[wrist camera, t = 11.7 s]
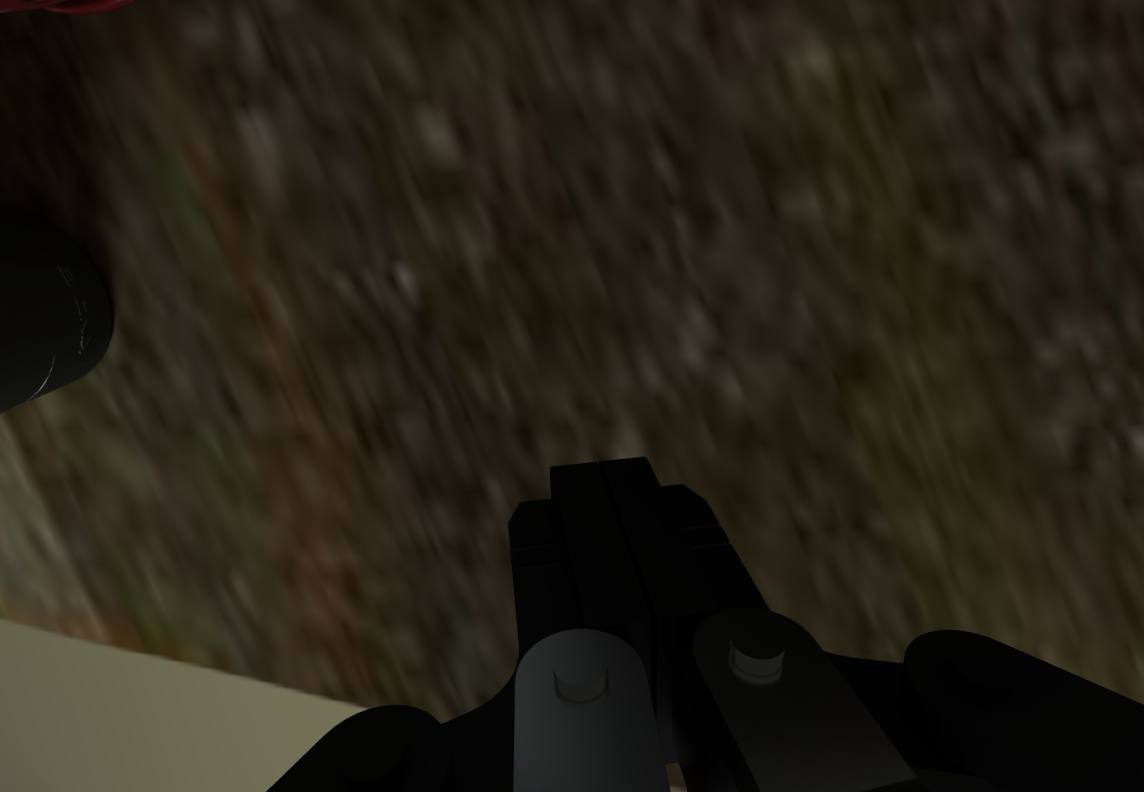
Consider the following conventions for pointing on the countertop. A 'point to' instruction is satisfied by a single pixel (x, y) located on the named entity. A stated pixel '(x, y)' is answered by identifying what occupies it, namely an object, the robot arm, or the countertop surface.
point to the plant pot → (63, 6)
